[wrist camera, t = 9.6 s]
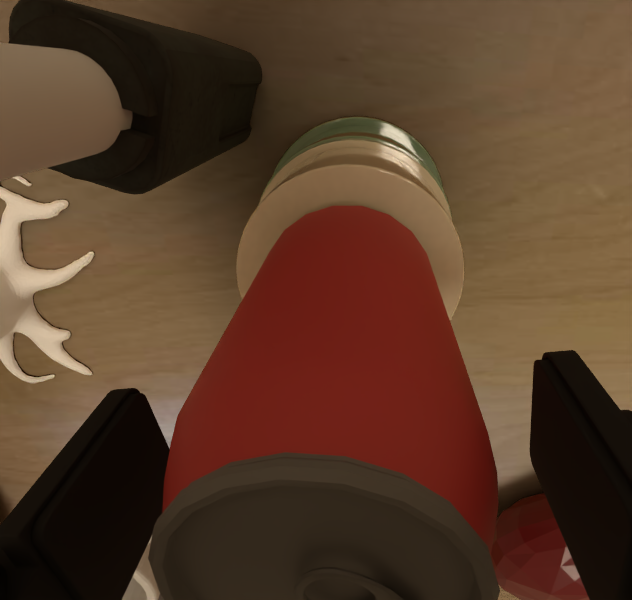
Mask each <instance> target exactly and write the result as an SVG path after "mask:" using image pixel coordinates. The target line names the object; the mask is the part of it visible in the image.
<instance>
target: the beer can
mask: <svg viewBox="0 0 632 600" xmlns="http://www.w3.org/2000/svg"><path fill="white" fill-rule="evenodd" d="M498 506H499V502H498V482H497V470H496V466H495V461H494V457H493V453H492V449H491V444H490V440H489V436H488V432H487V429H486V426H485V423H484V420H483V417H482V414H481V411H480V408H479V405H478V402H477V399H476V397H475V394H474V391H473V388H472V385H471V382H470V379H469V376H468V373H467V370H466V367H465V364H464V361H463V358H462V355H461V352H460V349H459V347H458V344H457V341H456V338H455V335H454V332H453V329H452V326H451V323H450V320H449V317H448V314H447V311H446V308H445V305H444V302H443V299H442V296H441V294H440V291H439V288H438V285H437V282H436V279H435V276H434V273H433V270H432V267H431V264H430V261H429V258H428V255H427V253H426V251H425V250H424V248H423V247H422V245H421V244H420V243H419V241H418V240H417V238H416V237H415V235H414V234H413V232H412V231H411V230H409V229H408V228H407V227H405V226H404V225H403V224H401V223H400V222H399V221H397V220H396V219H394V218H393V217H392V216H390V215H389V214H386V213H383V212H380V211H376V210H373V209H370V208H367V207H364V206H330V207H327V208H324V209H321V210H318V211H314V212H311V213H308V214H306V215H304V216H303V217H301V218H300V219H299V220H297V221H296V222H295V223H293V224H292V225H291V226H289V227H288V228H286V229H285V230H284V231H283V233H282V234H281V236H280V237H279V238H278V240H277V241H276V243H275V244H274V246H273V247H272V249H271V250H270V252H269V253H268V255H267V257H266V259H265V261H264V262H263V264H262V266H261V268H260V270H259V271H258V273H257V275H256V277H255V278H254V280H253V282H252V284H251V286H250V287H249V289H248V291H247V293H246V295H245V296H244V298H243V300H242V302H241V303H240V305H239V307H238V309H237V311H236V312H235V314H234V316H233V318H232V319H231V321H230V323H229V325H228V327H227V328H226V330H225V332H224V334H223V336H222V337H221V339H220V341H219V343H218V344H217V346H216V348H215V350H214V352H213V353H212V355H211V357H210V359H209V361H208V362H207V364H206V366H205V368H204V369H203V371H202V373H201V375H200V377H199V378H198V380H197V382H196V384H195V386H194V387H193V389H192V391H191V393H190V394H189V396H188V398H187V400H186V402H185V403H184V405H183V407H182V409H181V411H180V412H179V414H178V417H177V421H176V425H175V429H174V433H173V437H172V441H171V446H170V451H169V456H168V462H167V467H166V472H165V478H164V490H163V508H162V514H161V515H160V516H159V518H158V519H157V521H156V523H155V525H154V529H153V534H152V539H151V545H150V550H149V556H148V560H149V563H150V566H151V569H152V572H153V575H154V578H155V581H156V584H157V587H158V590H159V592H160V594H161V596H162V597H163V599H164V600H497V599H498V596H499V592H500V590H499V586H498V582H497V578H496V574H495V571H494V567H493V563H492V560H491V551H492V545H493V540H494V534H495V527H496V520H497V513H498Z"/></svg>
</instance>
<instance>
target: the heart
mask: <svg viewBox="0 0 632 600" xmlns="http://www.w3.org/2000/svg"><path fill="white" fill-rule="evenodd" d="M491 560H492V563H493V567H494V571H495V574H496V578H497V582H498V584H499V585H500V586H501V587H502V588H503V589H504V590H505V591H507V592H509V593H510V594H512V595H514V596H516V597H517V598H519V599H521V600H590V599H589V597H588V595H587V592H586V590H585V588H584V585H583V583H582V581H581V578H580V576H579V574H578V571H577V569H576V567H575V564H574V562H573V559H572V557H571V555H570V552H569V550H568V548H567V545H566V543H565V541H564V538H563V536H562V534H561V531H560V529H559V527H558V524H557V522H556V520H555V517H554V515H553V512H552V510H551V508H550V505H549V503H548V501H547V498H546V496H545V494H544V493H541V494H537V495H533V496H530V497H526V498H522V499H520V500H519V501H517V502H516V503H514V504H513V505H511V506H510V507H509V508H507V509H506V510H504V511H503V512H502V513H501V514H500V516H499V517H498V518H497V520H496V527H495V534H494V540H493V545H492V551H491Z"/></svg>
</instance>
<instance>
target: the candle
mask: <svg viewBox="0 0 632 600" xmlns="http://www.w3.org/2000/svg"><path fill="white" fill-rule="evenodd" d="M261 81H262V71H261V67H260V64H259V62H258V61H257V59H256V58H255V57H254V56H253V55H252V54H251V53H249V52H247V51H245V50H242V49H239V48H236V47H233V46H230V45H227V44H224V43H221V42H218V41H215V40H212V39H209V38H206V37H203V36H200V35H197V34H193V33H190V32H186V31H182V30H178V29H174V28H170V27H166V26H162V25H159V24H155V23H151V22H147V21H143V20H139V19H135V18H131V17H128V16H124V15H120V14H116V13H112V12H108V11H104V10H100V9H97V8H93V7H89V6H85V5H81V4H77V3H73V2H69V1H66V0H20V1H19V2H18V3H17V4H16V6H15V7H14V8H13V10H12V13H11V16H10V21H9V43H0V181H2V180H6V179H9V178H13V177H16V176H20V175H24V174H27V173H31V172H34V171H38V170H41V169H45V168H49V169H52V170H55V171H58V172H61V173H63V174H66V175H68V176H70V177H72V178H75V179H81V180H86V181H89V182H93V183H96V184H99V185H102V186H105V187H108V188H111V189H114V190H118V191H121V192H124V193H129V194H143V193H145V192H148V191H150V190H152V189H154V188H156V187H158V186H160V185H162V184H164V183H166V182H168V181H170V180H171V179H173V178H175V177H177V176H179V175H181V174H183V173H185V172H187V171H189V170H191V169H193V168H195V167H197V166H199V165H200V164H202V163H204V162H206V161H208V160H210V159H212V158H214V157H216V156H218V155H220V154H222V153H224V152H226V151H227V150H229V149H231V148H233V147H235V146H237V145H239V144H241V143H243V142H244V141H245V140H246V139H247V138H248V137H249V135H250V132H251V127H250V126H249V123H250V118H251V113H252V108H253V103H254V99H255V94H256V89H257V85H258V84H260V83H261Z"/></svg>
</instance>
